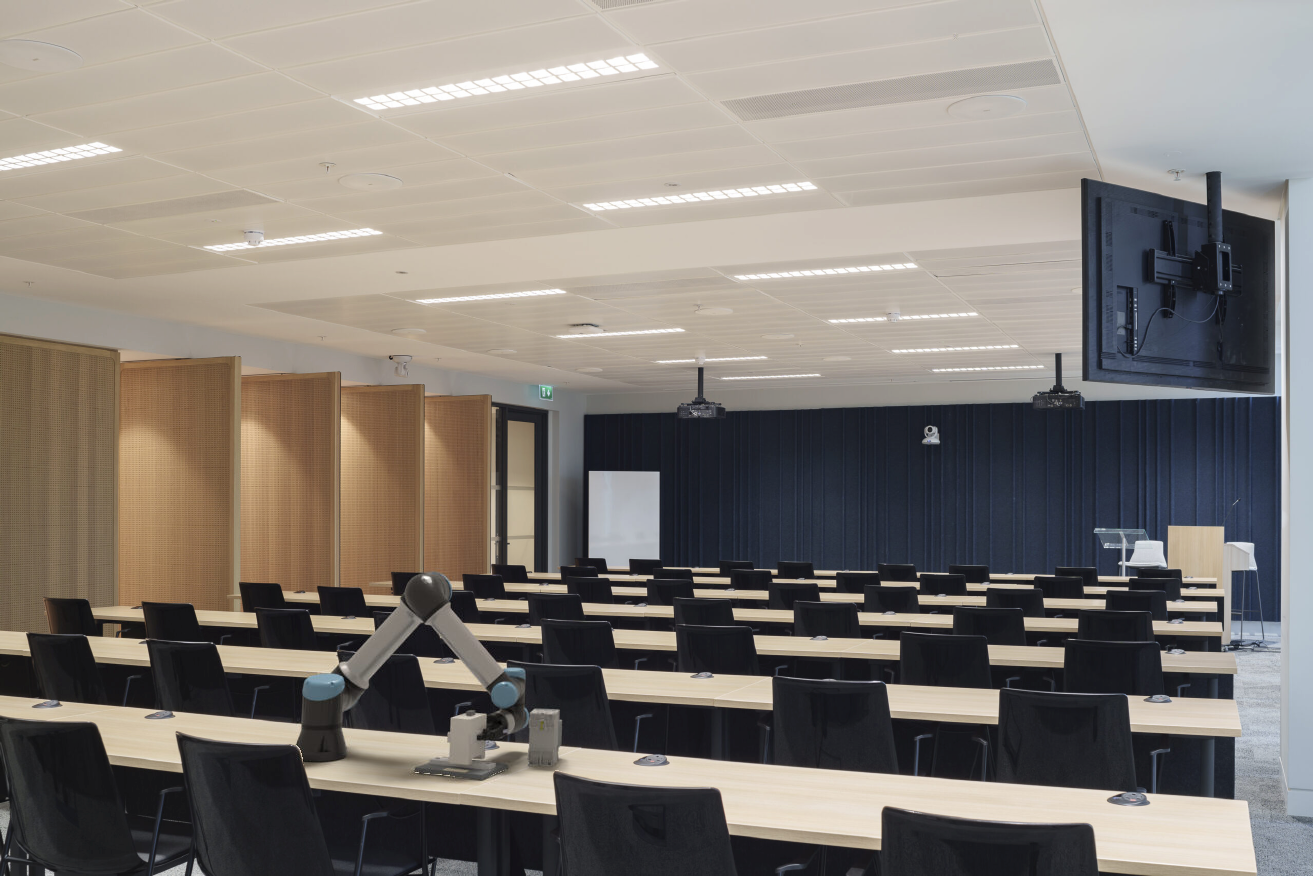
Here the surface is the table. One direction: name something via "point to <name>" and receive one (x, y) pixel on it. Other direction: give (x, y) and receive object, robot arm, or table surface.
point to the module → (466, 738)
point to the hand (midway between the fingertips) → (459, 738)
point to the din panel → (461, 768)
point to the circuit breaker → (544, 737)
